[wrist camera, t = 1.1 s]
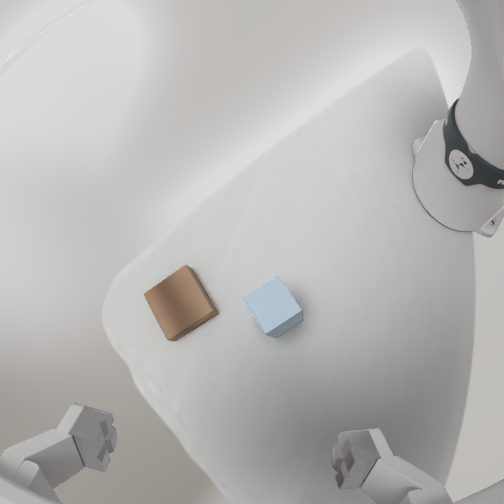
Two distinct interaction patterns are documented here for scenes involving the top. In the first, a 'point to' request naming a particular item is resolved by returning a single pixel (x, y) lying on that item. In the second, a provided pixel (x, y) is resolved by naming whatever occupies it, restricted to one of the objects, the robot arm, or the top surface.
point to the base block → (180, 303)
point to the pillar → (274, 307)
